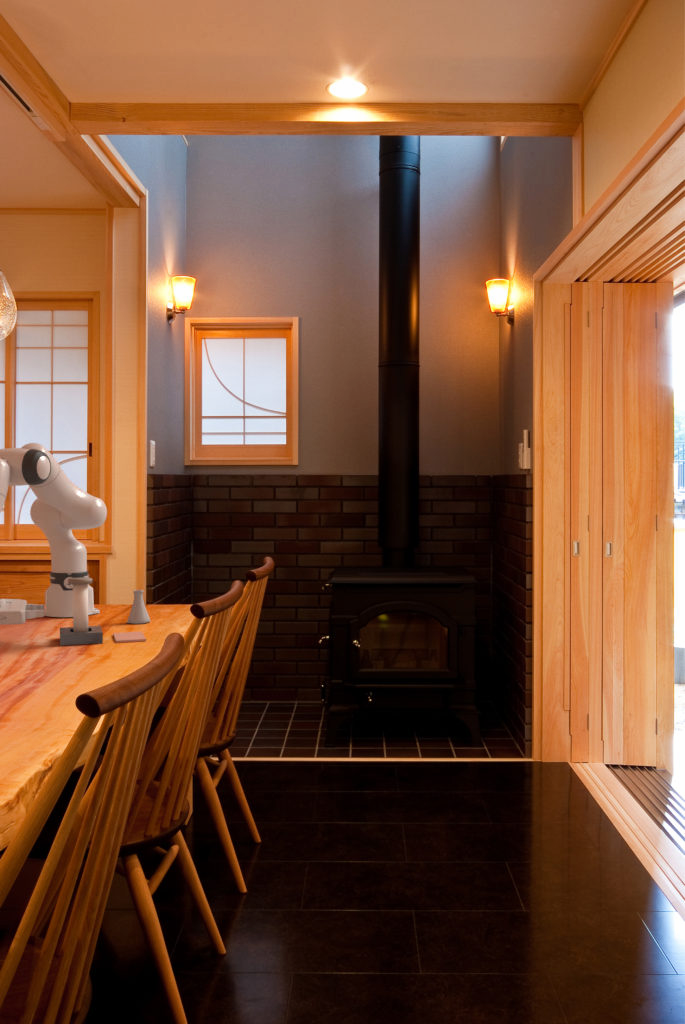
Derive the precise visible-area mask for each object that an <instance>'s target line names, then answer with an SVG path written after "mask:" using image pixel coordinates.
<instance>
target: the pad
mask: <svg viewBox="0 0 685 1024" xmlns="http://www.w3.org/2000/svg"><path fill="white" fill-rule="evenodd" d="M112 636H113V638H114V641H115V643H116V644H119V643H121V644H122V643H123V644H124V643H137V642H140V641H141V642H147V638H146V636H145V635H144V633H143V631H130V632H129V631H128V632H127V631H126V632H112ZM141 642H140V643H141Z"/></svg>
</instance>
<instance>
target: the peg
mask: <svg viewBox="0 0 685 1024" xmlns="http://www.w3.org/2000/svg"><path fill="white" fill-rule="evenodd" d="M68 584H72V585H73V617H72V618H73V619H72V625H73V626H72V627H73V632H87V631H88V626H89V615H88V584H89V585H90V584H93V578H92V577H88V578H86V577H81V578H70V579H68Z"/></svg>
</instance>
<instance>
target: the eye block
mask: <svg viewBox="0 0 685 1024" xmlns="http://www.w3.org/2000/svg"><path fill="white" fill-rule="evenodd" d="M103 635H104V633H103V629H102V625H88V631H87V632H73V626H70V627H69V626H68V627H67V626H66V627H59V646H62V647H63V646H64V647H65V646H78V645H79V646H81V645H96V644H97V645H98V644H103V643H104V642H103V641H104V639H103V638H104V637H103Z"/></svg>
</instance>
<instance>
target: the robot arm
mask: <svg viewBox="0 0 685 1024" xmlns="http://www.w3.org/2000/svg"><path fill="white" fill-rule="evenodd" d="M16 486H18V487H19V486H29V488H30V490H31V491H32V492H33V494H34V495H35V497H36V498H35V499H34V501H33V502H32V504H31V506H30V513H29V515H30V518H31V521H32V523H33V524H34V525H35V526H36V527H38V528H39V529H40V530H41V531H42V533H43V534H44V535H45V538H46V540H47V542H48V545H49V551H50V562H51V564H50V565H51V571H50V572H49V573H50V574H49V583H50V585H49V587H47V589H46V590H45V593H44V601H45V602H44V604H37V603H36V604H35V603H28V601H27V600H26V599H19V598H16V599H15V598H0V625H22V624H25V623H26V620H30V619H36V618H43V617H49V618H50V617H51V618H73V585H72V584H68V579H70V578H81V577H86V578H90V575H89V571H88V563H87V562H88V559H87V558H88V557H87V556H88V553H87V548H86V546H85V544H84V543H82V542H81V541H79V540H78V539H76V537H75V536H74V534H73V531H72V530H91V529H95V528H96V529H97V528H99V527H100V528H101V527H102V526H103V524H105V522H106V519H107V516H108V509H107V506H106V504H105V502H104V500H102V499H101V498H99V497H96V496H94V495H92V494H90V493H88V492H87V491H84V490H83V489H82V488H80V487H79V486H78V485H76V484H75V483H73V482H72V481H71V480H70V478H69V477H68V476H67V474H66V473H65V472H64V470H63V469H62V467H61V465H60V464H59V463H58V461H57V460H56V458H55V457H54V456H53V455H52V453H51V452H50V451H49V450H48V449H47V448H46V447H45V446H44V445H42V444H41V443H38V442H29V443H27V444H24V445H22V446H21V447H11V448H8V447H7V448H0V513H1V512H2V510H3V508H4V505H5V502H6V500H7V495H8V491H9V487H16ZM94 599H95V598H94V588H93V587H92V586H91V585H90V584H88V616H90V615H96V614H100V612H101V611H100V609H99V608H98V607H97V608H96V607H95V604H94Z"/></svg>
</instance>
